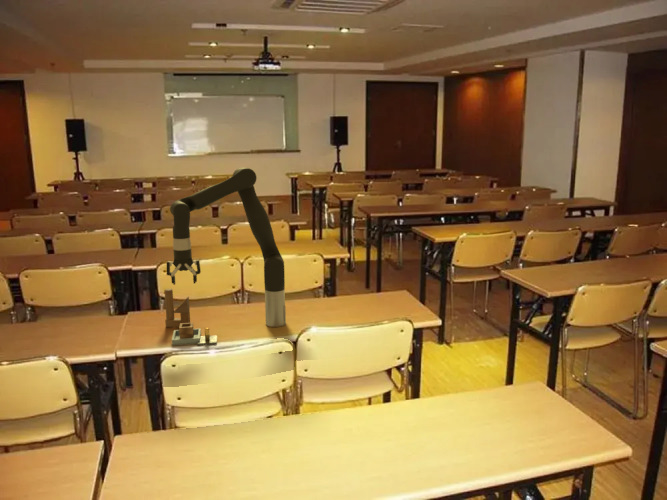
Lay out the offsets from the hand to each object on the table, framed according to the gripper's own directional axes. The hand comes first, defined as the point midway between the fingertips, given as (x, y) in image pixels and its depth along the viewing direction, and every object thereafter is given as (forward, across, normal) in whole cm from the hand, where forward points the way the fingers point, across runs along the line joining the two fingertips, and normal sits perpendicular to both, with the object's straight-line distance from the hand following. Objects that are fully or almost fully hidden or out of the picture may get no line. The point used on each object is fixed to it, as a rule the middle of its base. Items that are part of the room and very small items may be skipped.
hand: (184, 283), depth 245 cm
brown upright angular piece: (+24, +5, -12) cm, 28 cm away
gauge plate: (+24, -9, +9) cm, 27 cm away
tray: (+24, 0, +5) cm, 25 cm away
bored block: (+24, 0, +5) cm, 24 cm away
